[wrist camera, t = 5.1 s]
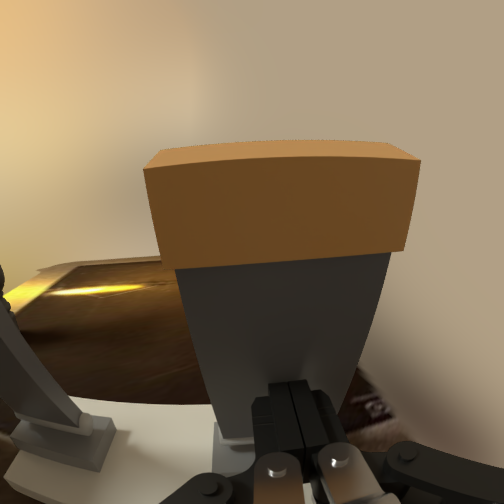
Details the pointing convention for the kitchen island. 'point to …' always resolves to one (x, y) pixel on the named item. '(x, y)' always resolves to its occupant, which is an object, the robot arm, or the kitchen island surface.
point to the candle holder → (0, 285)
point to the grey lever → (34, 385)
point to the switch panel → (124, 455)
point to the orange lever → (279, 259)
